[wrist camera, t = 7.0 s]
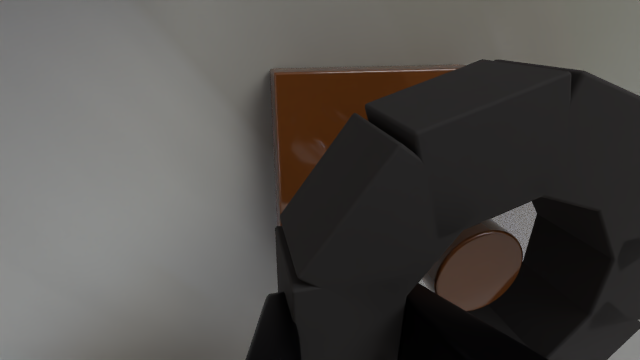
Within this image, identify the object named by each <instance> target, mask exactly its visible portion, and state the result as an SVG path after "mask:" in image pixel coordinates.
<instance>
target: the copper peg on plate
mask: <svg viewBox="0 0 640 360" xmlns="http://www.w3.org/2000/svg"><path fill="white" fill-rule="evenodd" d="M464 66H466V65H419V66H372V67H324V68H276V69H270V85H271V106H272V127H273V148H274V168H275V189H276V210H277V226H282V224H281V221H280V214H281V213H282V212H283V210H284V209H285V208H286V206H287V205H288V203H289V202H290V201H291V199H292V198H293V196H294V195H295V194H296V192H297V191H298V189H299V188H300V187H301V185H302V184H303V183H304V181H305V180H306V178H307V177H308V176H309V174H310V173H311V171H312V170H313V169H314V167H315V166H316V164H317V163H318V162H319V160H320V159H321V158H322V156H323V155H324V153H325V152H326V151H327V149H328V148H329V146H330V145H331V144H332V142H333V141H334V139H335V138H336V137H337V135H338V134H339V133H340V131H341V130H342V128H343V127H344V126H345V124H346V123H347V121H348V120H349V119H350V117H351V116H352V114H354V113H357V114H358V115H360V116H361V117H363V118H364V119H366V120H367V121H368V119H367V115H366V111H365V104H367V103H369V102H372V101H374V100H377V99H380V98H382V97H385V96H387V95H390V94H393V93H395V92H398V91H401V90H403V89H406V88H408V87H411V86H414V85H416V84H419V83H422V82H424V81H427V80H429V79H432V78H435V77H437V76H440V75H443V74H445V73H448V72H450V71H453V70H456V69H458V68H461V67H464ZM522 260H523V252H522V248H521V245H520V243H519V241H518V240H517V239H516V238H515V237H514V236H513V235H512V234H511V233H509V232H508V231H507V230H505V229H504V228H503V227H501V226H500V225H498V224H497V223H496V222H494V221H493V220H492V219H488V220H486V221H484V222H481V223H479V224H477V225H474V226H472V227H470V228H467V229H465V230H463V231H462V232H461V233H460V235H459V236H458V237H457V238H456V239H455V240H454V242H453V243H452V244H451V245H450V246H449V247H448V249H447V250H446V251H445V252H444V253H443V254H442V256H441V257H440V258H439V259H438V260H437V261H436V263H435V264H434V265H433V266H432V267H431V268H430V270H429V271H428V272H427V273H426V274H425V275H424V277H423V278H422V280H423V282H424V283H425V284H426V286H427V287H428V288H429V289H430V290H431V291H433V292H434V293H436V294H438V295H439V296H441V297H443V298H444V299H446V300H448V301H450V302H451V303H453V304H455V305H456V306H458V307H460V308H462V309H463V310H465V311H467V312H468V311H473V310H477V309H480V308H483V307H485V306H487V305H489V304H491V303H492V302H494V301H495V300H497V299H498V298H499V297H500V296H502V295H503V294H504V293H505V292H506V291H507V290H508V289H509V288H510V286H511V285H512V284H513V282H514V281H515V279H516V278H517V276H518V274H519V272H520V269H521V266H522Z"/></svg>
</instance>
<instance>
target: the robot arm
mask: <svg viewBox="0 0 640 360" xmlns="http://www.w3.org/2000/svg"><path fill="white" fill-rule="evenodd" d="M246 360H302V359H301V346H300V338H299V333H298V329H297V325H296V323H295V322H293V321H292V317H291V314H290V310H289V307H288V303H287V300H286V296H285V293H284V292H279V293H273V294H269V295H268V296H267V297H266V300H265V303H264V306H263V309H262V312H261V315H260V318H259V321H258V324H257V327H256V330H255V333H254V336H253V339H252V342H251V345H250V348H249V351H248V354H247V357H246ZM398 360H549V359H547V358H545V357H544V356H542V355H540V354H538V353H537V352H535V351H533V350H532V349H530V348H528V347H526V346H525V345H523V344H521V343H520V342H518V341H516V340H515V339H513V338H511V337H509V336H508V335H506V334H504V333H503V332H501V331H499V330H497V329H496V328H494V327H492V326H491V325H489V324H487V323H485V322H484V321H482V320H480V319H479V318H477V317H475V316H474V315H472V314H470V313H468V312H467V311H465V310H463V309H462V308H460V307H458V306H456V305H455V304H453V303H451V302H450V301H448V300H446V299H444V298H443V297H441V296H439V295H438V294H436V293H434V292H433V291H431V290H429V289H427V288H426V287H424V286H422V285H421V284H419V283H418V284H417V285H416V286H415V287H414V288H413V289H412V291H411V292H410V293H409V294H408V295H407V297H406V304H405V312H404V319H403V326H402V333H401V340H400V347H399V355H398Z"/></svg>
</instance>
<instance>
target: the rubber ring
mask: <svg viewBox="0 0 640 360" xmlns="http://www.w3.org/2000/svg"><path fill="white" fill-rule="evenodd" d="M365 111H366V115H367V119H368V121H367V120H366V119H364V118H363V117H361V116H360V115H358V114H357V113H354V114H352V116H351V117H350V119H349V120H348V121H347V123H346V124H345V126H344V127H343V128H342V130H341V131H340V133H339V134H338V135H337V137H336V138H335V139H334V141H333V142H332V144H331V145H330V146H329V148H328V149H327V151H326V152H325V153H324V155H323V156H322V158H321V159H320V160H319V162H318V163H317V164H316V166H315V167H314V169H313V170H312V171H311V173H310V174H309V176H308V177H307V178H306V180H305V181H304V183H303V184H302V185H301V187H300V188H299V189H298V191H297V192H296V194H295V195H294V196H293V198H292V199H291V201H290V202H289V203H288V205H287V206H286V208H285V209H284V210H283V212H282V213H281V214H280V221H281V224H282V226H277V227H276V228H275V234H276V255H277V277H278V293H279V292H284V293H285V296H286V300H287V303H288V307H289V310H290V314H291V317H292V321H293V322H295V323H296V325H297V329H298V333H299V338H300V346H301V359H302V360H398V355H399V347H400V340H401V333H402V326H403V319H404V312H405V304H406V297H407V295H408V294H409V293H410V292H411V291H412V289H413V288H414V287H415V286H416V285H417V284H418V282H419V281H420V280H421V279H422V278H423V277H424V275H425V274H426V273H427V272H428V271H429V270H430V268H431V267H432V266H433V265H434V264H435V263H436V261H437V260H438V259H439V258H440V257H441V256H442V254H443V253H444V252H445V251H446V250H447V249H448V247H449V246H450V245H451V244H452V243H453V242H454V240H455V239H456V238H457V237H458V236H459V235H460V233H461V232H462V231H463V230H465V229H467V228H470V227H472V226H474V225H477V224H479V223H481V222H484V221H486V220H488V219H491V218H493V217H495V216H498V215H500V214H502V213H505V212H507V211H509V210H512V209H514V208H516V207H519V206H521V205H523V204H526V203H528V202H530V201H532V203H533V205H534V207H535V210H536V212H537V216H536V219H535V223H534V226H533V229H532V233H531V236H530V240H529V243H528V246H527V250H526V253H525V257H524V260H523V262H522V266H521V269H520V272H519V274H518V276H517V278H516V279H515V281H514V282H513V284H512V285H511V286H510V288H509V289H508V290H507V291H506V292H505V293H504V294H503V295H502V296H500V297H499V298H498V299H497V300H495V301H494V302H492V303H491V304H489V305H487V306H485V307H483V308H480V309H477V310H473V311H468V313H470V314H472V315H474V316H475V317H477V318H479V319H480V320H482V321H484V322H485V323H487V324H489V325H491V326H492V327H494V328H496V329H497V330H499V331H501V332H503V333H504V334H506V335H508V336H509V337H511V338H513V339H515V340H516V341H518V342H520V343H521V344H523V345H525V346H526V347H528V348H530V349H532V350H533V351H535V352H537V353H538V354H540V355H542V356H544V357H545V358H547V359H549V360H607V359H608V358H609V357H610V356H611V355H612V354H613V353H614V352H616V351H617V350H618V349H619V348H620V347H621V346H622V345H623V344H624V343H625V342H626V341H627V340H628V339H629V338H630V337H631V336H632V335H633V334H634V333H636V332H637V331H638V330H639V329H640V322H639V321H638V320H639V319H640V96H638V95H636V94H634V93H632V92H629V91H627V90H625V89H623V88H621V87H619V86H616V85H614V84H612V83H610V82H608V81H605V80H603V79H601V78H599V77H597V76H595V75H592V74H590V73H588V72H586V71H581V70H573V69H566V68H558V67H551V66H543V65H536V64H528V63H521V62H513V61H505V60H494V61H490V60H483V59H482V60H479V61H477V62H474V63H472V64H469V65H466V66H464V67H461V68H458V69H456V70H453V71H450V72H448V73H445V74H443V75H440V76H437V77H435V78H432V79H429V80H427V81H424V82H422V83H419V84H416V85H414V86H411V87H408V88H406V89H403V90H401V91H398V92H395V93H393V94H390V95H387V96H385V97H382V98H380V99H377V100H374V101H372V102H369V103H367V104H365Z"/></svg>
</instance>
